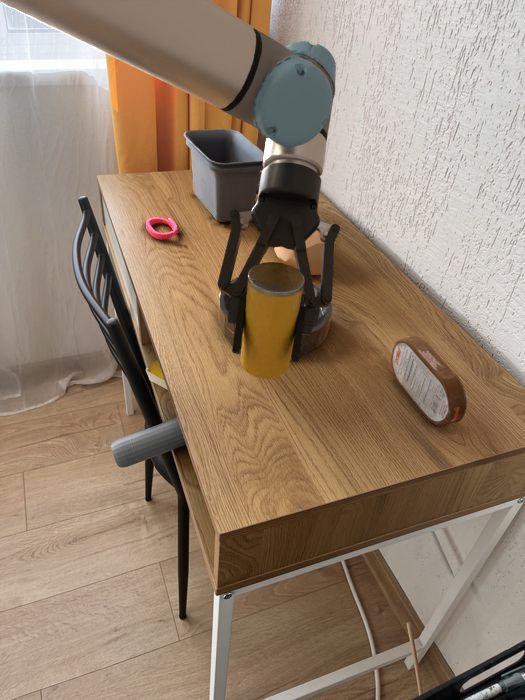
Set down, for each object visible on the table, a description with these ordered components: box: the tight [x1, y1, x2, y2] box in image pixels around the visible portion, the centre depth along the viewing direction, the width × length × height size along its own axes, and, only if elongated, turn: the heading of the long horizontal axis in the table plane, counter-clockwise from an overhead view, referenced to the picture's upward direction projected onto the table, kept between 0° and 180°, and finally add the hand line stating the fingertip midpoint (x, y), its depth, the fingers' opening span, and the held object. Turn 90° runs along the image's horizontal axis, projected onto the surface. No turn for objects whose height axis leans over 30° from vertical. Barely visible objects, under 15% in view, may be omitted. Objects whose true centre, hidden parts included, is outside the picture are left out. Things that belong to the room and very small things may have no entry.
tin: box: [390, 334, 468, 427], centre depth 75 cm, size 15×3×8 cm, turn 21°
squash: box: [273, 230, 336, 276], centre depth 104 cm, size 11×20×9 cm, turn 28°
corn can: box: [240, 261, 305, 380], centre depth 64 cm, size 6×6×13 cm
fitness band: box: [145, 217, 179, 240], centre depth 110 cm, size 8×6×2 cm
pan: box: [217, 276, 333, 358], centre depth 88 cm, size 19×19×4 cm
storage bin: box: [183, 128, 265, 223], centre depth 118 cm, size 21×16×14 cm
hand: (265, 356), depth 63 cm, fingers closed on corn can, 6 cm apart
